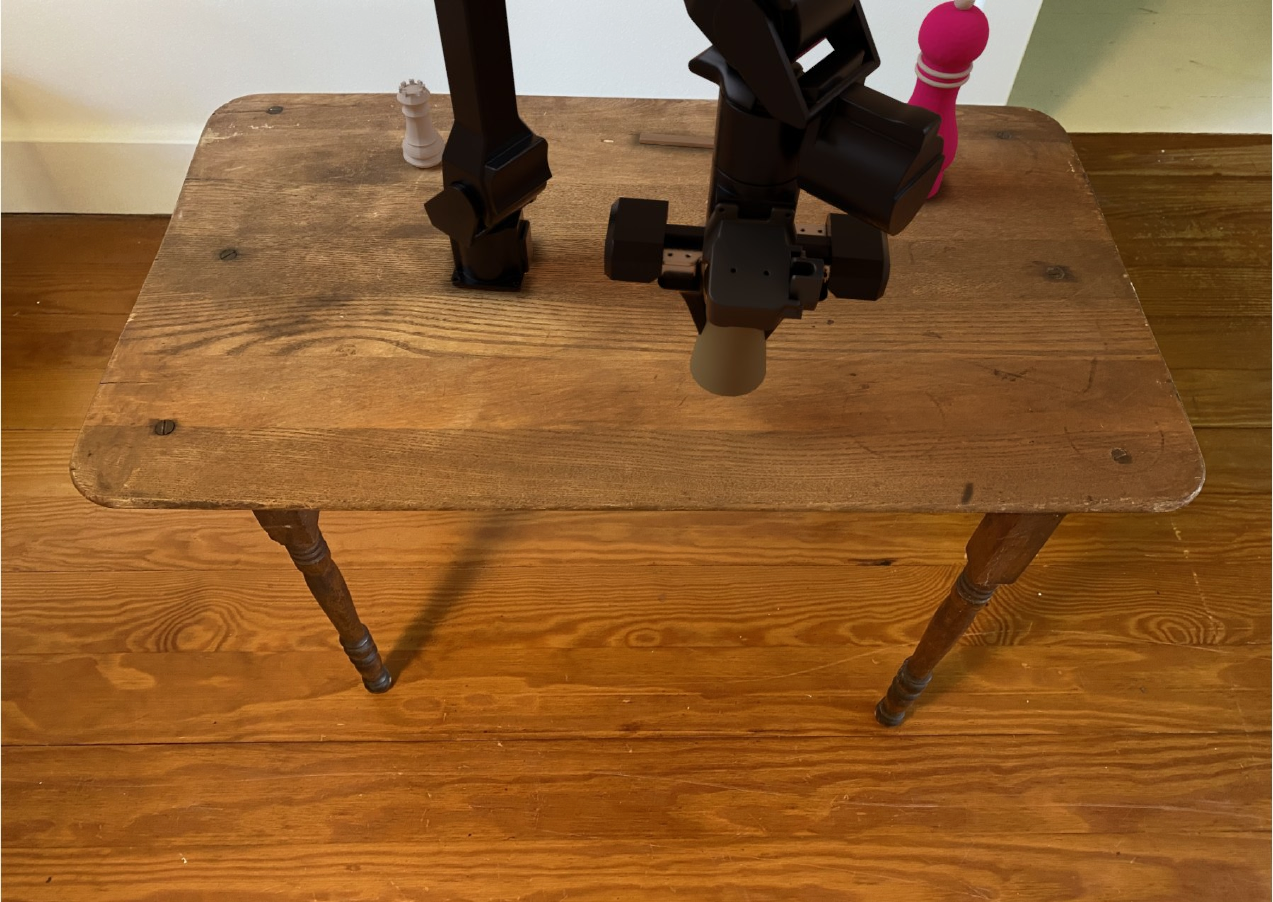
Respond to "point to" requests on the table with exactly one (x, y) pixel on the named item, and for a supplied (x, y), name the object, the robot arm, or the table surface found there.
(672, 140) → the fork
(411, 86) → the rook chess piece
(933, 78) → the pepper mill
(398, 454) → the table surface
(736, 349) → the tan cone-shaped piece
